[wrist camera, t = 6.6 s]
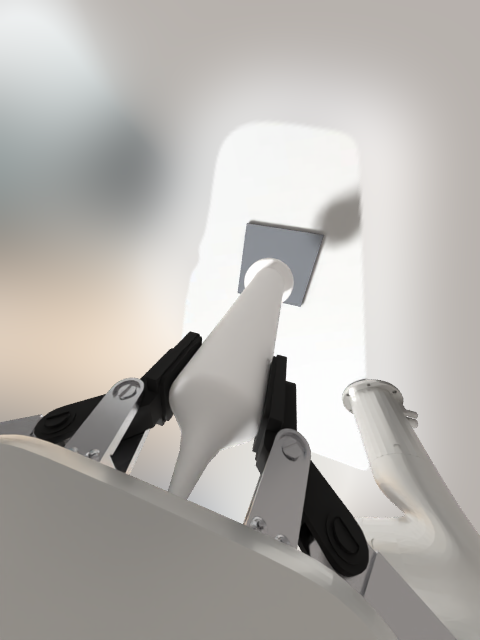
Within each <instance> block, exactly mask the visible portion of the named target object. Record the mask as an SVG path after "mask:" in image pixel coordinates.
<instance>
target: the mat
mask: <svg viewBox="0 0 480 640" xmlns="http://www.w3.org/2000/svg"><path fill="white" fill-rule="evenodd" d="M323 236H324V235H320V234H314V233H307V232H301V231H294V230H288V229H281V228H275V227H268V226H262V225H255V224H249V223H247V226H246V234H245V241H244V249H243V256H242V264H241V272H240V279H239V287H238V293H240V294H241V293H242V292H243V290H244V289H245V285H244V280H245V275H246V273H247V271H248V269H249V268H250V267H251V266H252V265H253V264H254V263H255V262H257V261H258V260H261V259H264V258H275V259H278V260H280V261H282V262H284V263H285V264H286V265H287V266H288V267H289V268H290V270H291V272H292V274H293V279H294V285H293V290H292V292H291V294H290V296H289V297H288V298H287V299H286V300H285V301H284V302H283V303H286V304H290V305H295V306H299V307H301V304H302V301H303V297H304V294H305V291H306V288H307V285H308V282H309V279H310V276H311V273H312V270H313V267H314V264H315V261H316V257H317V254H318V251H319V248H320V245H321V242H322V239H323Z"/></svg>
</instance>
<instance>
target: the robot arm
mask: <svg viewBox="0 0 480 640" xmlns="http://www.w3.org/2000/svg"><path fill="white" fill-rule="evenodd" d="M201 345H202V337H200V335H199V334H198V333H194V332H189V333H188V334H187V335H186V336H185V337H184V338H183V339H182V340H181V341H180V342H179V343H178V345H176V346H175V347H174V348H172V349H170V350H169V351H168V352H167V353H166V354H165V355H164V356H163V357H162V358H161V359H160V360H159V361H158V362H157V363H156V364H155V365H154V366H153V367H152V368H151V369H150V370H149V371H148V372H147V373H146V374H145V375H144V376H143V377H142V378H141V379H138V378H127V379H124V380H121V381H119V382H117V383H116V384H115V385H114V386H113V387H112V388H111V389H110V390H109V391H108V392H107V394H104V395H101V396H98V397H94V398H90V399H87V400H84V401H80V402H77V403H73V404H70V405H66V406H63V407H60V408H57V409H55V410H53V411H51V412H49V413H48V414H47V415H45V416H44V417H43V416H42V414H41V415H36V416H31V417H25V418H20V419H16V420H10V421H5V422H0V640H480V535H479V534H478V533H477V531H476V530H475V528H474V527H473V525H472V524H471V523H470V521H469V520H468V518H467V517H466V515H465V514H464V512H463V511H462V509H461V508H460V506H459V505H458V503H457V502H456V500H455V498H454V497H453V495H452V494H451V492H450V490H449V489H448V487H447V486H446V484H445V482H444V481H443V479H442V477H441V476H440V474H439V473H438V471H437V469H436V467H435V466H434V464H433V462H432V461H431V459H430V457H429V456H428V454H427V452H426V450H425V449H424V447H423V445H422V444H421V442H420V440H419V438H418V437H417V435H416V433H415V432H414V430H413V428H417V427H418V422H417V420H416V419H412V418H417V417H418V414H417V413H416V412H413V411H409V410H406V409H405V408H404V406H403V397H402V394H401V393H400V391H399V390H398V389H397V388H396V387H395V386H393V385H392V384H390V383H388V382H385V381H381V380H362V381H358V382H355V383H353V384H351V385H350V386H348V387H347V388H346V389H345V390H344V392H343V394H342V401H343V404H344V406H345V408H346V409H347V410H348V411H349V412H351V413H352V414H354V417H355V420H356V423H357V426H358V430H359V433H360V436H361V439H362V442H363V445H364V448H365V452H366V455H367V458H368V461H369V464H370V467H371V470H372V473H373V477H374V479H375V481H376V483H377V485H378V486H379V488H380V489H381V491H382V492H383V493H384V494H385V495H386V497H387V498H388V499H390V501H391V502H393V503H394V504H395V505H396V506H397V507H398V508H399V509H400V510H401V511H403V512H404V513H405V515H404V516H402V517H393V518H386V517H353V516H352V514H351V513H350V512H349V510H348V509H347V508H346V506H345V505H344V504H343V502H342V501H341V500H340V498H339V497H338V496H337V494H336V493H335V492H334V490H333V489H332V488H331V486H330V485H329V484H328V482H327V481H326V480H325V478H324V477H323V476H322V474H321V473H320V472H319V470H318V469H317V468H316V466H315V465H314V464H313V462H312V461H311V460H310V459H311V450H310V447H309V444H308V442H307V441H306V439H305V438H304V437H303V436H302V435H301V434H300V433H299V432H297V412H296V384H295V383H291V382H288V381H286V365H287V357H284V356H281V355H277V357H275V356H273V358H272V362H271V366H270V372H269V378H268V384H267V390H266V397H265V403H264V409H263V415H262V419H261V423H260V427H259V430H258V433H257V435H256V437H255V439H254V444H253V450H252V451H253V452H256V457H255V460H256V461H257V462H256V466H257V468H258V470H259V472H260V477H259V480H258V483H257V486H256V489H255V491H254V494H253V497H252V500H251V503H250V506H249V508H248V512H247V514H246V517H245V520H244V523H243V524H241V523H239V522H236V521H234V520H232V519H229V518H227V517H225V516H223V515H220V514H218V513H216V512H214V511H211V510H209V509H207V508H204V507H202V506H199V505H197V504H195V503H193V502H191V501H188V500H186V499H184V498H181V497H179V496H177V495H174V494H172V493H170V492H167V491H165V490H163V489H160V488H158V487H155V486H154V485H151V484H149V483H147V482H144V481H142V480H139V479H137V478H135V477H133V476H130V473H131V471H132V468H133V466H134V464H135V462H136V460H137V458H138V455H139V453H140V451H141V449H142V447H143V444H144V442H145V440H146V438H147V436H148V433H149V431H150V429H151V428H153V427H154V426H155V424H159V425H161V426H163V425H164V423H165V422H166V420H167V421H169V420H170V419H171V417H172V416H173V412H172V410H171V407H170V403H169V391H170V388H171V385H172V383H173V382H174V380H175V379H176V378H177V376H178V375H179V374H180V373H181V371H182V370H183V369H184V367H185V366H186V365H187V363H188V362H189V361H190V360H191V358H192V357H193V356H194V354H195V353H196V352H197V350H198V349H199V348H200V346H201ZM406 416H409V417H412V418H409V417H406ZM412 427H413V428H412ZM297 545H298V546H299V547H300V549H301V551H302V552H301V551H299V550H297Z"/></svg>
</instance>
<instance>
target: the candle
mask: <svg viewBox="0 0 480 640" xmlns="http://www.w3.org/2000/svg"><path fill="white" fill-rule="evenodd" d="M244 285H245V289H244V290H243V292H242V293H241V294H240V296H239V297H238V298H237V300H236V301H235V302H234V303H233V305H232V306H231V307H230V309H229V310H228V311H227V313H226V314H225V315H224V316H223V318H222V319H221V320H220V322H219V323H218V324H217V326H216V327H215V328H214V330H213V331H212V332H211V333H210V335H209V336H208V337H207V339H206V340H205V341H204V343H203V344H202V345H201V346H200V348H199V349H198V350H197V352H196V353H195V354H194V356H193V357H192V358H191V360H190V361H189V362H188V363H187V365H186V366H185V367H184V369H183V370H182V371H181V373H180V374H179V375H178V376H177V378H176V379H175V380H174V382H173V383H172V385H171V388H170V391H169V403H170V407H171V410H172V412H173V414H174V416H175V418H176V420H177V422H178V425H179V427H180V430H181V442H180V451H179V455H178V458H177V462H176V465H175V469H174V472H173V475H172V479H171V482H170V486H169V489H168V492H170V493H172V494H174V495H177V496H179V497H181V498H184V499H186V500H187V498H188V497H189V495H190V493H191V492H192V490H193V488H194V486H195V485H196V483H197V481H198V480H199V478H200V476H201V475H202V473H203V471H204V470H205V468H206V466H207V465H208V463H209V462H210V461H211V460H212V459H213V458H214V457H215V456H216V454H217V453H218V452H219V451H221V450H224V449H226V448H229V447H233V446H237V445H241V444H244V443H246V442H249V441H251V440H252V439H253V438H254V437H256V435H257V433H258V430H259V427H260V423H261V419H262V415H263V409H264V403H265V397H266V390H267V384H268V378H269V372H270V366H271V362H272V358H273V354H274V347H275V341H276V334H277V328H278V321H279V315H280V308H281V303H283V302H284V301H285V300H286V299H287V298H288V297H289V296H290V294H291V292H292V290H293V285H294V279H293V274H292V272H291V270H290V268H289V267H288V266H287V265H286V264H285V263H284V262H282V261H280V260H278V259H275V258H264V259H261V260H258V261H257V262H255V263H254V264H253V265H252V266H251V267H250V268H249V269H248V271H247V273H246V275H245V280H244Z"/></svg>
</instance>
